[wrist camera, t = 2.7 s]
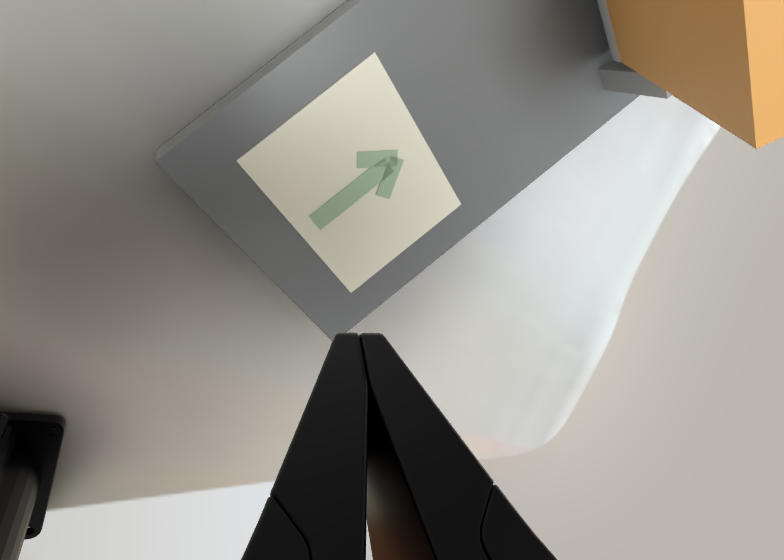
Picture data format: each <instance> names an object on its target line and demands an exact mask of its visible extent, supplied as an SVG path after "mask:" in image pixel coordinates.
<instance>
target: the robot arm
mask: <svg viewBox="0 0 784 560" xmlns="http://www.w3.org/2000/svg"><path fill="white" fill-rule="evenodd" d="M50 426H51V427H54V428H56V429H53V430H49V429H46V428H45V427H50ZM65 427H66V422H65V420H64V419H63V418H61V417H60V416H56V415H43V414H25V413H6V412H0V560H18V558H19V554H20V551H21V548H22V544H23V541H24V539H31V538H34V537H36V536H37V535H38V534H40V532H41V529H42V526H43V522H44V518H45V514H46V509H47V505H48V501H49V496H50V492H51V488H52V483H53V479H54V475H55V470H56V466H57V462H58V457H59V453H60V449H61V444H62V440H63V436H64V431H65ZM493 483H494V482H493V480H492V479H491V477H490V476H489V474H488V473H487V472H486V470H485V469H484V468H483V466H482V465H481V464H480V463H479V461H478V460H477V458H476V457H475V456H474V454H473V453H472V452H471V451H470V449H469V448H468V447H467V445H466V444H465V443H464V441H463V440H462V439H461V437H460V436H459V435H458V433H457V432H456V431H455V429H454V428H453V427H452V425H451V424H450V423H449V421H448V420H447V419H446V417H445V416H444V415H443V413H442V412H441V411H440V409H439V408H438V407H437V405H436V404H435V403H434V402H433V400H432V399H431V398H430V396H429V395H428V394H427V392H426V391H425V390H424V388H423V387H422V386H421V384H420V383H419V382H418V380H417V379H416V378H415V376H414V375H413V374H412V372H411V371H410V370H409V368H408V367H407V366H406V364H405V363H404V362H403V360H402V359H401V358H400V356H399V355H398V354H397V353H396V351H395V350H394V349H393V347H392V346H391V345H390V343H389V342H388V341H387V339H386V338H385V337H384V336H383V335H382V334H380V333H362V334H360V336H359V335H358V334H357V333H337V334H336V335H335V337H334V339H333V342H332V344H331V347H330V349H329V352H328V354H327V356H326V359H325V361H324V364H323V366H322V369H321V371H320V374H319V376H318V378H317V381H316V383H315V386H314V388H313V391H312V393H311V395H310V398H309V400H308V403H307V405H306V408H305V410H304V413H303V415H302V417H301V420H300V422H299V425H298V427H297V430H296V432H295V434H294V437H293V439H292V442H291V444H290V447H289V449H288V451H287V454H286V456H285V459H284V461H283V464H282V466H281V468H280V471H279V473H278V476H277V478H276V481H275V483H274V486H273V488H272V490H271V493H270V495H271V496H270V497H269V498H268V499H267V502H266V504H265V507H264V509H263V511H262V514H261V516H260V519H259V521H258V523H257V526H256V528H255V530H254V532H253V535H252V537H251V539H250V541H249V544H248V546H247V548H246V550H245V553H244V555H243V557H242V559H241V560H366V518H367V524H368V531H369V537H370V544H371V550H372V556H373V560H557V559H556V558H555V557H554V555H553V554H552V553H551V552H550V551H549V550H548V549H547V547H546V546H545V545H544V544H543V543H542V542H541V541H540V539H539V538H538V537H537V536H536V535H535V534H534V532H533V531H532V530H531V529H530V528H529V526H528V525H527V524H526V522H525V521H524V520H523V518H522V517H521V516H520V515H519V513H518V512H517V511H516V510H515V508H514V507H513V506H512V505H511V503H510V502H509V501H508V499H507V498H506V497H505V495H504V494H503V493H502V491H501V490H500V489H499V487H498V486H497V485H493ZM28 527H29V528H28Z"/></svg>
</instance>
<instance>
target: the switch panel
mask: <svg viewBox="0 0 784 560" xmlns="http://www.w3.org/2000/svg"><path fill="white" fill-rule="evenodd" d="M639 95H645V96H653V97H660V98H669V97H670V96H671V95H672V94H670V93H668V92H667V91H665V90H664V89H662V88H661V87H659V86H658V85H656V84H654V83H653V82H651V81H650V80H648V79H647V78H645V77H644V76H642V75H640V74H639V73H637V72H636V71H634V70H633V69H631V68H630V67H628V66H626V65H625V64H623V63H622V62H616V61H614V60H613V59H612V55H611V51H610V48H609V44H608V40H607V36H606V33H605V29H604V25H603V21H602V17H601V14H600V10H599V6H598V2H597V0H347V1H346V2H345V3H344V4H342V5H341V6H340V7H338V8H337V9H336V10H335V11H333V12H332V13H331V14H329V15H328V16H327V17H326V18H324V19H323V20H322V21H321V22H319V23H318V24H317V25H315V26H314V27H313V28H312V29H310V30H309V31H308V32H306V33H305V34H304V35H303V36H301V37H300V38H299V39H297V40H296V41H295V42H294V43H292V44H291V45H290V46H288V47H287V48H286V49H285V50H283V51H282V52H281V53H280V54H278V55H277V56H276V57H274V58H273V59H272V60H271V61H269V62H268V63H267V64H265V65H264V66H263V67H262V68H260V69H259V70H258V71H256V72H255V73H254V74H253V75H251V76H250V77H249V78H248V79H246V80H245V81H244V82H242V83H241V84H240V85H239V86H237V87H236V88H235V89H233V90H232V91H231V92H230V93H228V94H227V95H226V96H224V97H223V98H222V99H221V100H219V101H218V102H217V103H216V104H214V105H213V106H212V107H210V108H209V109H208V110H207V111H205V112H204V113H203V114H201V115H200V116H199V117H198V118H196V119H195V120H194V121H192V122H191V123H190V124H189V125H187V126H186V127H185V128H184V129H182V130H181V131H180V132H178V133H177V134H176V135H175V136H173V137H172V138H171V139H169V140H168V141H167V142H166V143H164V144H163V145H162V146H160V147H159V148H158V149H157V151H156V157H155V163H156V164H157V165H158V166H159V167H160V168H161V169H162V170H163V171H164V172H165V173H166V174H167V175H168V176H169V177H170V178H171V179H172V180H173V181H174V182H175V183H176V184H177V185H178V186H179V187H180V188H181V189H182V190H183V191H184V192H185V193H186V194H187V195H188V196H189V197H190V198H191V199H192V200H193V201H194V202H195V203H196V204H197V205H198V206H199V207H200V208H201V209H202V210H203V211H204V212H205V213H206V214H207V215H208V216H209V217H210V218H211V219H212V220H213V221H214V222H215V223H216V224H217V225H218V226H219V227H220V228H221V229H222V230H223V231H224V232H225V233H226V234H227V235H228V236H229V237H230V238H231V239H232V240H233V241H234V242H235V243H236V244H237V245H238V246H239V247H240V248H241V249H242V250H243V251H244V252H245V253H246V254H247V256H248V257H249V258H250V259H251V260H252V261H253V262H254V263H255V264H256V265H257V266H258V267H259V268H260V269H261V270H262V271H263V272H264V273H265V274H266V275H267V276H268V277H269V278H270V279H271V280H272V281H273V282H274V283H275V284H276V285H277V286H278V287H279V288H280V289H281V290H282V291H283V292H284V293H285V294H286V295H287V296H288V297H289V298H290V299H291V300H292V301H293V302H294V303H295V304H296V305H297V306H298V307H299V308H300V309H301V310H302V311H303V312H304V313H305V314H306V315H307V316H308V317H309V318H310V319H311V320H312V321H313V322H314V323H315V324H316V325H317V326H318V327H319V328H320V329H321V330H322V331H323V332H324V333H325V334H326V335H327V336H328V337H329V338H330V339H331V340H332V341H333V339H334V337H335V335H336V334H337V333H346V332H347V331H348V330H350V329H351V328H352V327H353V326H355V325H356V324H357V323H358V322H360V321H361V320H362V319H363V318H364V317H366V316H367V315H368V314H369V313H371V312H372V311H373V310H374V309H376V308H377V307H378V306H379V305H381V304H382V303H383V302H384V301H386V300H387V299H388V298H389V297H390V296H392V295H393V294H394V293H395V292H397V291H398V290H399V289H400V288H402V287H403V286H404V285H405V284H407V283H408V282H409V281H410V280H412V279H413V278H414V277H415V276H417V275H418V274H419V273H420V272H421V271H423V270H424V269H425V268H426V267H428V266H429V265H430V264H431V263H433V262H434V261H435V260H436V259H438V258H439V257H440V256H441V255H443V254H444V253H445V252H446V251H447V250H449V249H450V248H451V247H452V246H454V245H455V244H456V243H457V242H459V241H460V240H461V239H462V238H464V237H465V236H466V235H467V234H469V233H470V232H471V231H472V230H473V229H475V228H476V227H477V226H478V225H480V224H481V223H482V222H483V221H485V220H486V219H487V218H488V217H490V216H491V215H492V214H493V213H495V212H496V211H497V210H498V209H500V208H501V207H502V206H503V205H504V204H506V203H507V202H508V201H509V200H511V199H512V198H513V197H514V196H516V195H517V194H518V193H519V192H521V191H522V190H523V189H524V188H526V187H527V186H528V185H529V184H530V183H532V182H533V181H534V180H535V179H537V178H538V177H539V176H540V175H542V174H543V173H544V172H545V171H547V170H548V169H549V168H550V167H552V166H553V165H554V164H555V163H556V162H558V161H559V160H560V159H561V158H563V157H564V156H565V155H566V154H568V153H569V152H570V151H571V150H573V149H574V148H575V147H576V146H578V145H579V144H580V143H581V142H582V141H584V140H585V139H586V138H587V137H589V136H590V135H591V134H592V133H594V132H595V131H596V130H597V129H599V128H600V127H601V126H602V125H604V124H605V123H606V122H607V121H609V120H610V119H611V118H612V117H613V116H615V115H616V114H617V113H618V112H620V111H621V110H622V109H623V108H625V107H626V106H627V105H628V104H630V103H631V102H632V101H633V100H635V99H636V98H637V97H638V96H639Z"/></svg>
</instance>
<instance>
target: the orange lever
mask: <svg viewBox="0 0 784 560" xmlns="http://www.w3.org/2000/svg"><path fill="white" fill-rule="evenodd" d="M597 2H598V6H599V10H600V14H601V17H602V21H603V25H604V29H605V33H606V36H607V40H608V44H609V48H610V51H611V55H612V59H613V60H614V61H616V62H622V63H623V64H625V65H626V66H628V67H630V68H631V69H633V70H634V71H636V72H637V73H639V74H640V75H642V76H644V77H645V78H647V79H648V80H650V81H651V82H653V83H654V84H656V85H658V86H659V87H661V88H662V89H664V90H665V91H667V92H668V93H670V94H672V95H673V96H675V97H676V98H678V99H679V100H681V101H682V102H684V103H686V104H687V105H689V106H690V107H692V108H693V109H695V110H696V111H698V112H700V113H701V114H703V115H704V116H706V117H707V118H709V119H710V120H712V121H714V122H715V123H717V124H718V125H720V126H721V127H723V128H724V129H726V130H728V131H729V132H731V133H732V134H734V135H735V136H737V137H739V138H740V139H742V140H743V141H745V142H746V143H748V144H749V145H751V146H753V147H754V148H756V149H757V148H760V147H762V146H764V145H766V144H768V143H770V142H773V141H775V140H777V139H779V138H781V137H783V136H784V0H597Z"/></svg>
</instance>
